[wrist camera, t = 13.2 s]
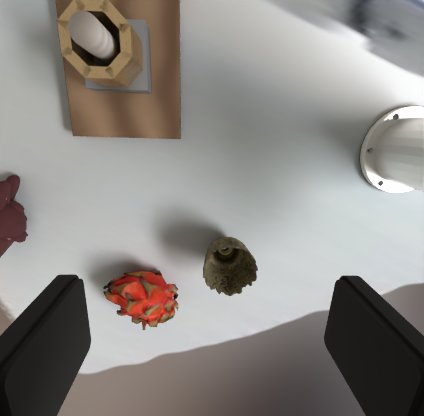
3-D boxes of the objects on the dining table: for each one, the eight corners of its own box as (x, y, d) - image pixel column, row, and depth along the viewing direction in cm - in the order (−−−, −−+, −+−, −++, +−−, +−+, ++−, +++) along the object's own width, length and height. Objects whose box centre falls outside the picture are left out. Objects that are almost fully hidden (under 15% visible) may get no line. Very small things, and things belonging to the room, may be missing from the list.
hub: (141, 23, 28) (128, -1, 23) (144, 87, 30) (133, 79, 25) (80, 19, 28) (53, -5, 22) (87, 85, 29) (64, 76, 24)
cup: (218, 274, 44) (222, 305, 36) (192, 241, 42) (191, 267, 34) (255, 251, 43) (267, 277, 35) (231, 216, 41) (239, 237, 33)
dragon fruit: (184, 292, 46) (121, 268, 46) (192, 274, 40) (119, 246, 39) (165, 342, 41) (95, 315, 41) (172, 331, 34) (87, 299, 34)
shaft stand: (179, -16, 31) (168, -109, 19) (180, 138, 37) (172, 144, 24) (60, -23, 30) (-34, -126, 18) (79, 135, 36) (17, 140, 23)
